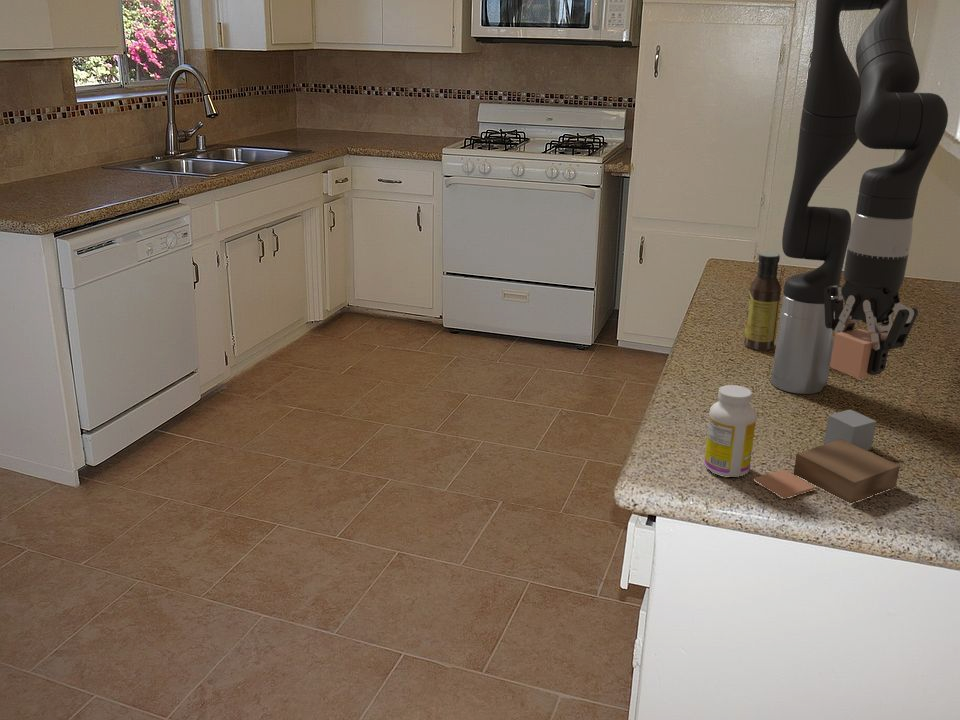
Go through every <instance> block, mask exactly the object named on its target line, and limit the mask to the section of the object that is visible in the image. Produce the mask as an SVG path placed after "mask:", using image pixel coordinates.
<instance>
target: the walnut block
mask: <svg viewBox="0 0 960 720" xmlns="http://www.w3.org/2000/svg"><path fill="white" fill-rule="evenodd" d="M900 468H901V466H900V465H899V464H898V463H896V462H892V461H891V460H889V459H886V458H884V457H882V456H880V455H877V454H875V453H873V452H871V451H870V450H865V449H862V448H860V447H858V446H856V445H854V444H852V443H849V442H847V441H845V440H843V439H840V440H837V441H834V442H831V443H827V444H825V443H823V444H822V445H818V446H817V447H813V448H811V449H806V450H804V451H800V452H798V453H796V457H795V462H794V469H793V474H794V475H797V476H799V477H801V478H803V479H805V480H807V481H808V482H810V483H812V484H814V485H816V486H818V487H820V488H822V489H824V490H825V491H827V492H829V493H831V494H833V495H835V496H837V497H839V498H841V499H843V500H845V501H847V502H849V503H853V502H856V501H858V500H862V499H865V498H867V497H870V496H872V495H875V494H877V493H880V492H883V491H886V490H888V489H892V488H894V487H896V488H897V484H898V483H897V482H898V477H899V472H900ZM894 489H895V488H894ZM892 490H893V489H892Z"/></svg>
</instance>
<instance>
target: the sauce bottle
mask: <svg viewBox="0 0 960 720" xmlns="http://www.w3.org/2000/svg"><path fill="white" fill-rule="evenodd" d="M780 258H781V256H780V253H777V252H774V251H763V252H759V254H758V258H757V259H758V269H757V274H756V275H757V276H756V277H755V278H754V279H753V281H752V282H751V283H750V287H749V289H748V290H749V292H748V299H747V310H746V317H745V318H746V320H745V327H744V341H743V342H744V345H745V346H746V347H747V348H749V349H751V350H754V349H755V350H756V351H762V352H764V351H769V350H772V349H774V346H775V340H777V333H778V325H779V315H780V308H781V307H780V305H781V296H782V295H781V293H782V286H781V283H780V281H779V279H778V278H777V276H778V267H779V262H780Z"/></svg>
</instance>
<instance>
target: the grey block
mask: <svg viewBox="0 0 960 720" xmlns="http://www.w3.org/2000/svg"><path fill="white" fill-rule="evenodd" d="M876 425H877V420H875V419H872V418H870V417H868V416H866V415H863V414H862V413H859V412H857V411H855V410H853V409H847V410H843V411H840V412H835V413H832V414H828V417H827V421H826V427H825V432H824V433H825V434H824V437H823V438H824V439H823V443H824V442H825V443H831V442H834V441H837V440H840V439H843V440H845V441H847V442H849V443H852V444H854V445H856V446H858V447H860V448H862V449H865V450H867V449H870V448H871V449H872V447H873V446H872V445H873V441H874V435H875V430H876ZM825 443H824V444H825ZM871 449H870V450H871ZM867 451H868V450H867Z"/></svg>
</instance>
